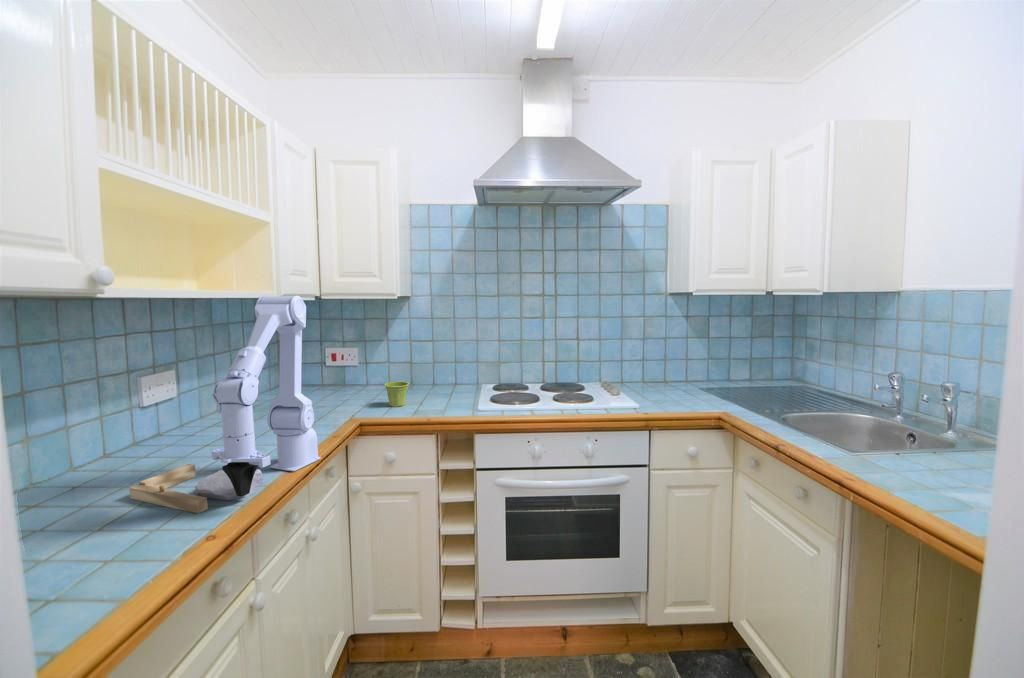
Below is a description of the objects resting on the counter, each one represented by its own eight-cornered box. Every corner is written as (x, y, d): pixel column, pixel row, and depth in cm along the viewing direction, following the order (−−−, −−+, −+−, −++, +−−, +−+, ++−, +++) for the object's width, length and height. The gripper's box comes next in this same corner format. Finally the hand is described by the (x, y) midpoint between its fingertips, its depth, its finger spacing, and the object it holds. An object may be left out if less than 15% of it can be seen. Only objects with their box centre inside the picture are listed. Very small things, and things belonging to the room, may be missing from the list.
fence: (189, 475, 111) (188, 461, 111) (253, 487, 104) (252, 472, 104) (130, 498, 99) (128, 482, 98) (198, 513, 92) (196, 496, 91)
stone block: (246, 508, 98) (267, 480, 108) (241, 489, 97) (263, 463, 106) (190, 511, 98) (216, 483, 107) (184, 492, 96) (211, 466, 106)
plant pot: (412, 402, 183) (412, 381, 182) (405, 408, 174) (404, 386, 173) (390, 402, 184) (389, 381, 183) (381, 408, 175) (380, 386, 174)
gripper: (196, 435, 94) (201, 497, 96) (247, 442, 90) (252, 507, 91) (227, 426, 101) (231, 484, 102) (276, 432, 96) (280, 493, 98)
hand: (243, 494), depth 97 cm, fingers closed
